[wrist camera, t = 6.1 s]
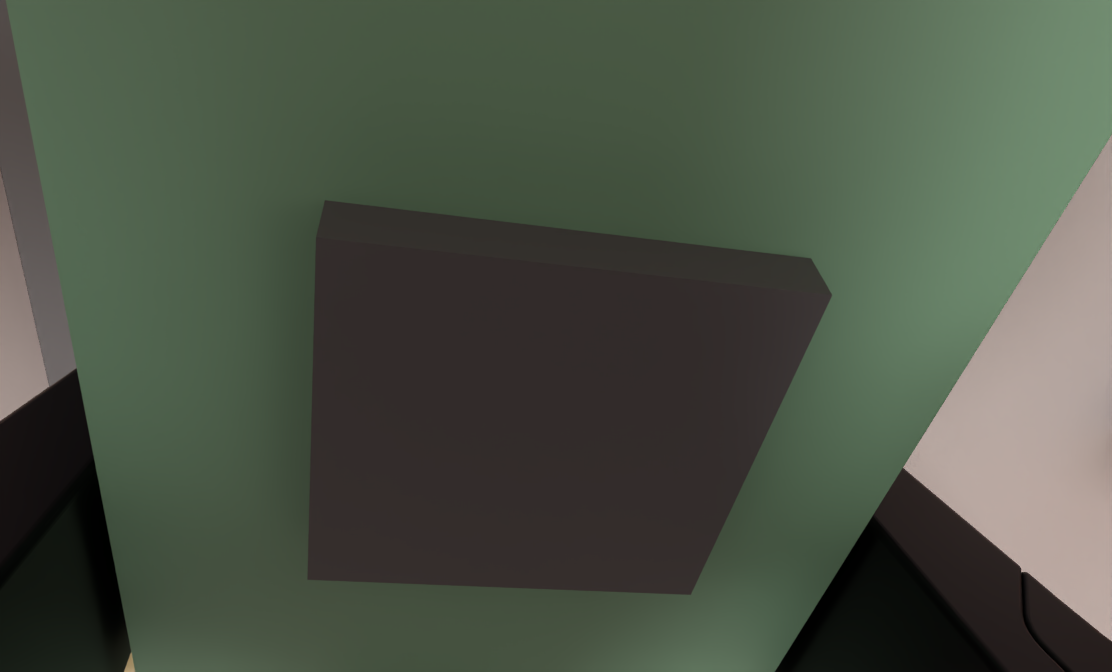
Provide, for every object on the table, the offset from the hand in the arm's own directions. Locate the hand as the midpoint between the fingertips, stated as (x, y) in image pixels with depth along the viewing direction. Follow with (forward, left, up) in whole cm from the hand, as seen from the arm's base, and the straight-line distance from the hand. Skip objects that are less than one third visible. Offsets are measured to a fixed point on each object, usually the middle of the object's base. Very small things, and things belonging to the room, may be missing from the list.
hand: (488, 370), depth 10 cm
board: (0, 0, -1) cm, 1 cm away
